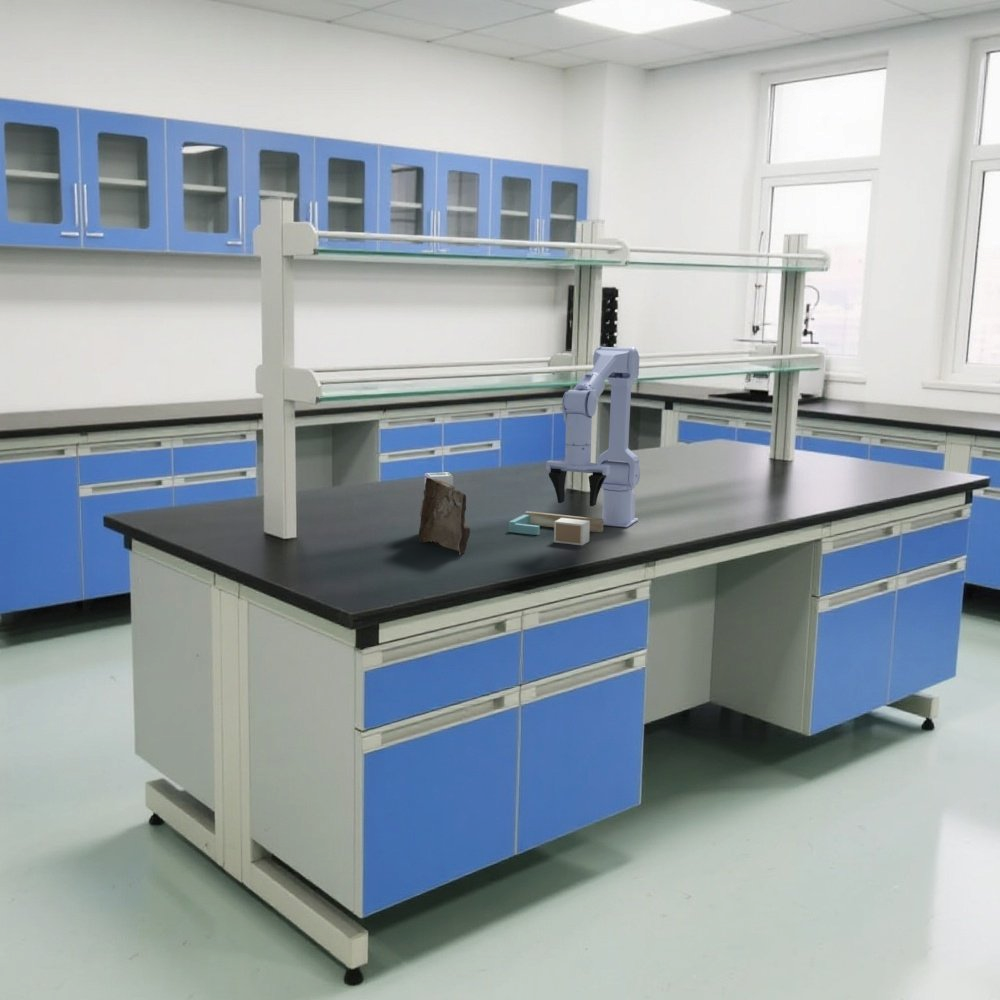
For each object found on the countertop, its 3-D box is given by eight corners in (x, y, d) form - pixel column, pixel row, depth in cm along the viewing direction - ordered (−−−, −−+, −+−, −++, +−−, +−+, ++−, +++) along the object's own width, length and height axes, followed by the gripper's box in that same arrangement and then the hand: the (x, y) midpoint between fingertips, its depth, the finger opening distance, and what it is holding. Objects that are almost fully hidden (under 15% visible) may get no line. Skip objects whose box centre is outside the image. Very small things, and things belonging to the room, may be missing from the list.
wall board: (527, 522, 275) (527, 511, 274) (603, 531, 267) (603, 519, 266) (524, 524, 274) (524, 512, 273) (601, 532, 265) (601, 520, 265)
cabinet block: (561, 538, 260) (561, 517, 259) (589, 541, 257) (589, 520, 256) (553, 542, 255) (554, 521, 254) (582, 546, 253) (582, 524, 252)
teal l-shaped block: (524, 524, 274) (524, 514, 273) (552, 527, 271) (553, 517, 270) (508, 531, 265) (508, 521, 265) (537, 535, 262) (537, 524, 262)
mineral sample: (418, 542, 254) (418, 477, 251) (432, 540, 257) (433, 475, 254) (459, 557, 241) (460, 489, 238) (474, 555, 243) (475, 487, 240)
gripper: (541, 443, 245) (540, 503, 248) (602, 448, 239) (601, 510, 242) (553, 439, 252) (552, 498, 254) (613, 444, 245) (611, 504, 248)
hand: (576, 503), depth 248 cm, fingers open, 7 cm apart
